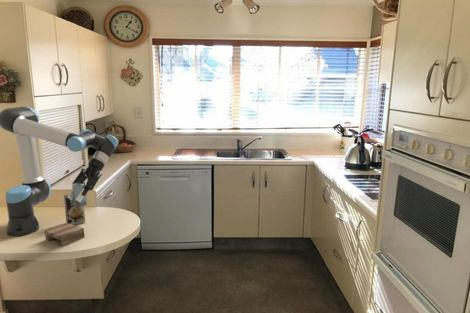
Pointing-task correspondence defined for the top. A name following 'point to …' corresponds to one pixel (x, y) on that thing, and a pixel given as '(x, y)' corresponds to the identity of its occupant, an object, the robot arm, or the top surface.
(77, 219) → the coffee box
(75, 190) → the clear cup
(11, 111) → the robot arm
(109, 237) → the top surface
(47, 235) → the walnut shelf
